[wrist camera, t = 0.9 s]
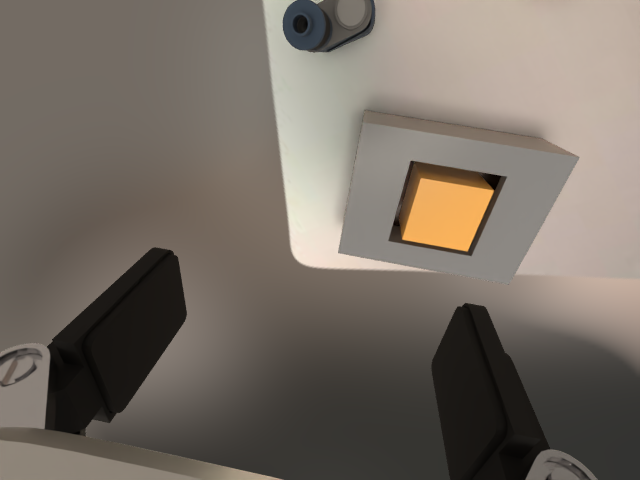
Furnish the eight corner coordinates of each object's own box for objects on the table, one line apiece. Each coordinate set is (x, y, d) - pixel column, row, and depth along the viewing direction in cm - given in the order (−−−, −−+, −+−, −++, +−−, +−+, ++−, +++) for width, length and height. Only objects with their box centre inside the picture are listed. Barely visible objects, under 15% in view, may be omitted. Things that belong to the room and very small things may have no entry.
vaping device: (308, 25, 27) (268, 7, 17) (368, -6, 25) (366, -47, 15) (319, 58, 28) (288, 60, 18) (378, 30, 26) (382, 15, 16)
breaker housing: (364, 110, 29) (362, 122, 24) (542, 138, 29) (579, 157, 23) (343, 224, 36) (338, 253, 30) (488, 250, 35) (509, 284, 30)
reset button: (414, 161, 29) (420, 178, 25) (477, 172, 28) (494, 190, 24) (398, 216, 32) (402, 239, 28) (455, 227, 31) (467, 251, 27)
